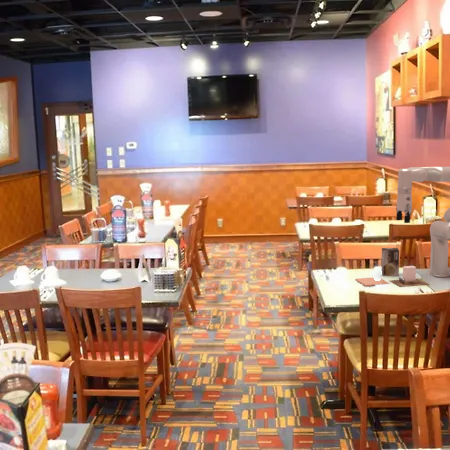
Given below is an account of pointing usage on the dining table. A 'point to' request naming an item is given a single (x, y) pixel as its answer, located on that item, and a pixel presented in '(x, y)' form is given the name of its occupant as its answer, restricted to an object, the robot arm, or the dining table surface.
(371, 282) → the reddish pink flat square
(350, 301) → the dining table surface
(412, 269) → the pink rounded block
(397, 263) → the coffee box
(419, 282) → the brown rectangular board
